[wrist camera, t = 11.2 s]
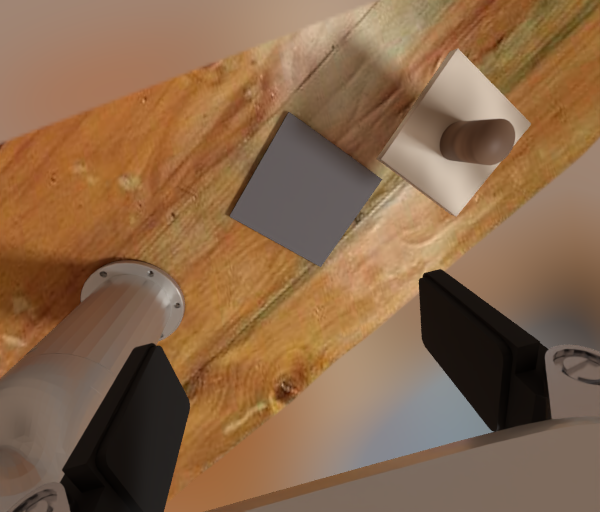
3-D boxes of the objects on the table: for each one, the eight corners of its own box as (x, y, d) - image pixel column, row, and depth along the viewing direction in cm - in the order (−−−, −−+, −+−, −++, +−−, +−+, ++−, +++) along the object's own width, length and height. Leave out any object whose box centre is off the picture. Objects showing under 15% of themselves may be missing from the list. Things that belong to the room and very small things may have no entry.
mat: (320, 265, 41) (320, 266, 40) (229, 215, 37) (229, 216, 36) (380, 179, 37) (382, 179, 37) (288, 112, 33) (288, 111, 33)
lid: (449, 213, 33) (489, 230, 27) (376, 158, 29) (404, 164, 24) (521, 124, 30) (582, 121, 24) (449, 52, 27) (501, 29, 21)
